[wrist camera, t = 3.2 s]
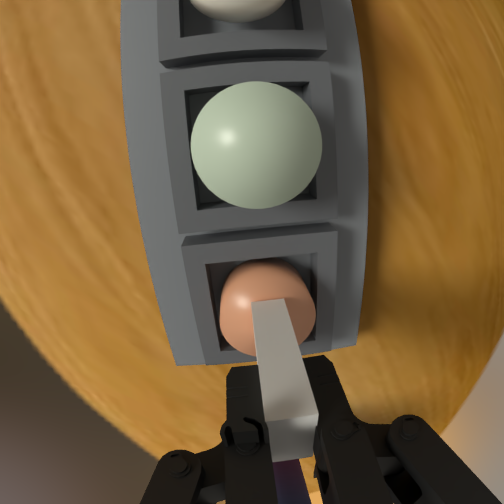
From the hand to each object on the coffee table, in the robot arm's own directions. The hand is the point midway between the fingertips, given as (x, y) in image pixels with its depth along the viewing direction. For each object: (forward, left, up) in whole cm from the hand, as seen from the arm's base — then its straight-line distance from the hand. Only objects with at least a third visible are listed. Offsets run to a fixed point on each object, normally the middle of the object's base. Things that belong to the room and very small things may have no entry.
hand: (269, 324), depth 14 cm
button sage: (-8, 0, -1) cm, 8 cm away
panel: (-8, 0, -5) cm, 9 cm away
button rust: (0, 0, -3) cm, 3 cm away
